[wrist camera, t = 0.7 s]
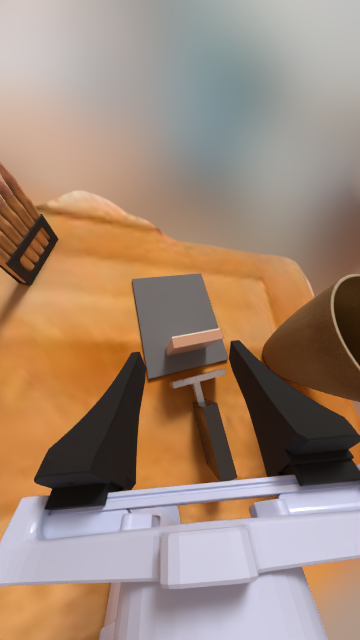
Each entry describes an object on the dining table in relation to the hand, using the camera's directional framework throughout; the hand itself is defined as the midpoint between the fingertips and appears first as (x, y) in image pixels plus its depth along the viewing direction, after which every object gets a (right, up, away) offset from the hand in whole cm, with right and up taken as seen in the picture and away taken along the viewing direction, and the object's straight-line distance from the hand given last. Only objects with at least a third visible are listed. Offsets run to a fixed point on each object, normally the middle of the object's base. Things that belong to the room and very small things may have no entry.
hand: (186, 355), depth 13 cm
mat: (-1, +3, +17) cm, 17 cm away
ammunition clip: (-25, +13, +16) cm, 33 cm away
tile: (+1, -2, +15) cm, 15 cm away
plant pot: (+19, -4, +18) cm, 27 cm away
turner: (+3, -12, +12) cm, 17 cm away
